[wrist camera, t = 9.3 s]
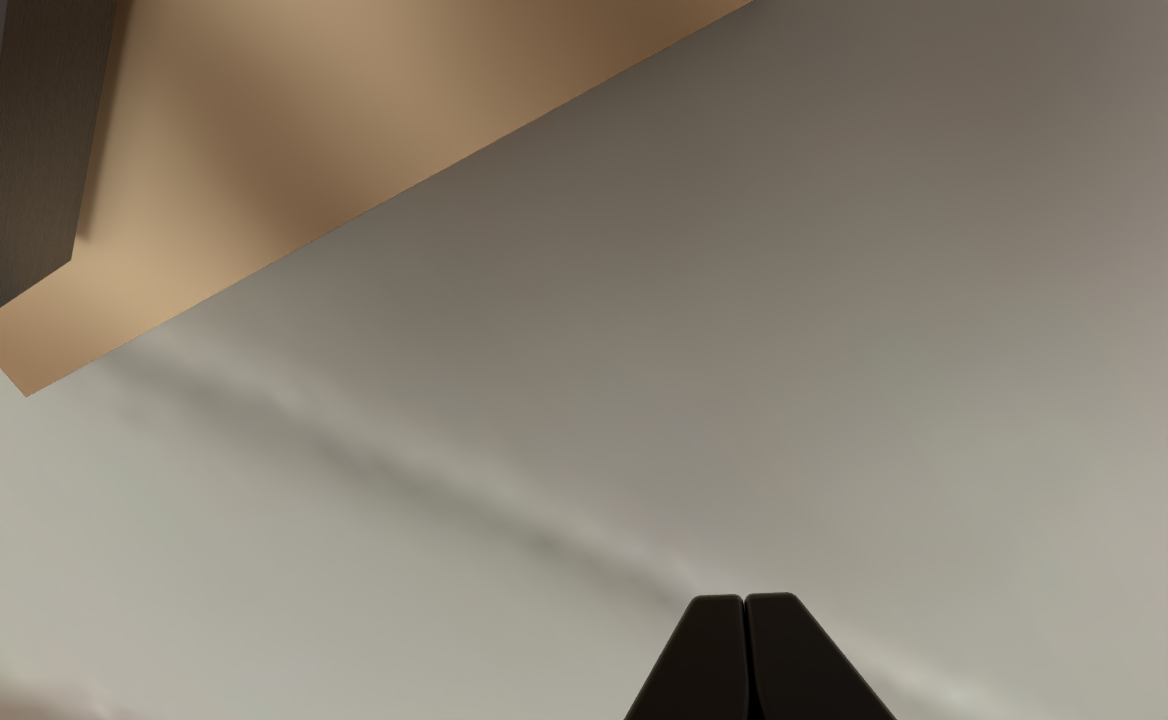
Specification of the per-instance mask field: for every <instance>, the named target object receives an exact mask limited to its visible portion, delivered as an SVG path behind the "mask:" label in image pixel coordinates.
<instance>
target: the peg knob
mask: <svg viewBox="0 0 1168 720" xmlns="http://www.w3.org/2000/svg"><path fill="white" fill-rule="evenodd" d="M117 3H118V0H0V308H1V307H2V306H4V305H5V304H7V303H8V302H10V301H11V300H13V299H14V298H16V297H17V296H19V295H20V294H22V293H23V292H25V291H26V290H28V289H29V288H31V287H32V286H34V285H35V284H37V283H38V282H40V281H41V280H43V279H44V278H46V277H47V276H48V275H50V274H51V273H53V272H54V271H56V270H57V269H59V268H60V267H62V266H63V265H65V264H66V263H68V262H69V261H71V258H72V253H73V247H74V241H75V236H76V230H77V225H78V219H79V214H80V208H81V203H82V197H83V192H84V186H85V180H86V175H87V169H88V164H89V158H90V153H91V147H92V142H93V136H94V131H95V125H96V120H97V114H98V108H99V103H100V97H101V92H102V86H103V81H104V75H105V70H106V64H107V59H108V53H109V48H110V42H111V36H112V31H113V25H114V20H115V14H116V9H117Z"/></svg>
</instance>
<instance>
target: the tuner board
mask: <svg viewBox="0 0 1168 720" xmlns="http://www.w3.org/2000/svg"><path fill="white" fill-rule="evenodd" d="M751 1H753V0H118V3H117V9H116V14H115V20H114V25H113V31H112V36H111V42H110V48H109V53H108V59H107V64H106V70H105V75H104V81H103V86H102V92H101V97H100V103H99V108H98V114H97V120H96V125H95V131H94V136H93V142H92V147H91V153H90V158H89V164H88V169H87V175H86V180H85V186H84V192H83V197H82V203H81V208H80V214H79V219H78V225H77V230H76V236H75V241H74V247H73V253H72V258H71V261H69V262H68V263H66V264H65V265H63V266H62V267H60V268H59V269H57V270H56V271H54V272H53V273H51V274H50V275H48V276H47V277H46V278H44V279H43V280H41V281H40V282H38V283H37V284H35V285H34V286H32V287H31V288H29V289H28V290H26V291H25V292H23V293H22V294H20V295H19V296H17V297H16V298H14V299H13V300H11V301H10V302H8V303H7V304H5V305H4V306H2V307H1V308H0V368H1V369H2V370H3V372H4V373H5V374H6V375H7V376H8V377H9V378H10V380H11V381H12V382H13V383H14V384H15V385H16V387H17V388H18V389H19V390H20V391H21V392H22V393H23V395H24V396H25V397H28V396H29V395H31V394H33V393H35V392H37V391H39V390H40V389H42V388H44V387H46V386H48V385H50V384H51V383H53V382H55V381H57V380H59V379H61V378H62V377H64V376H66V375H68V374H70V373H72V372H73V371H75V370H77V369H79V368H81V367H83V366H84V365H86V364H88V363H90V362H92V361H94V360H95V359H97V358H99V357H101V356H103V355H105V354H106V353H108V352H110V351H112V350H114V349H116V348H117V347H119V346H121V345H123V344H125V343H127V342H128V341H130V340H132V339H134V338H136V337H138V336H139V335H141V334H143V333H145V332H147V331H149V330H150V329H152V328H154V327H156V326H158V325H160V324H161V323H163V322H165V321H167V320H169V319H171V318H172V317H174V316H176V315H178V314H180V313H182V312H183V311H185V310H187V309H189V308H191V307H193V306H194V305H196V304H198V303H200V302H202V301H203V300H205V299H207V298H209V297H211V296H213V295H214V294H216V293H218V292H220V291H222V290H224V289H225V288H227V287H229V286H231V285H233V284H235V283H236V282H238V281H240V280H242V279H244V278H246V277H247V276H249V275H251V274H253V273H255V272H257V271H258V270H260V269H262V268H264V267H266V266H268V265H269V264H271V263H273V262H275V261H277V260H279V259H280V258H282V257H284V256H286V255H288V254H290V253H291V252H293V251H295V250H297V249H299V248H301V247H302V246H304V245H306V244H308V243H310V242H312V241H313V240H315V239H317V238H319V237H321V236H323V235H324V234H326V233H328V232H330V231H332V230H334V229H335V228H337V227H339V226H341V225H343V224H345V223H346V222H348V221H350V220H352V219H354V218H356V217H357V216H359V215H361V214H363V213H365V212H367V211H368V210H370V209H372V208H374V207H376V206H378V205H379V204H381V203H383V202H385V201H387V200H389V199H390V198H392V197H394V196H396V195H398V194H399V193H401V192H403V191H405V190H407V189H409V188H410V187H412V186H414V185H416V184H418V183H420V182H421V181H423V180H425V179H427V178H429V177H431V176H432V175H434V174H436V173H438V172H440V171H442V170H443V169H445V168H447V167H449V166H451V165H453V164H454V163H456V162H458V161H460V160H462V159H464V158H465V157H467V156H469V155H471V154H473V153H475V152H476V151H478V150H480V149H482V148H484V147H486V146H487V145H489V144H491V143H493V142H495V141H497V140H498V139H500V138H502V137H504V136H506V135H508V134H509V133H511V132H513V131H515V130H517V129H519V128H520V127H522V126H524V125H526V124H528V123H530V122H531V121H533V120H535V119H537V118H539V117H541V116H542V115H544V114H546V113H548V112H550V111H552V110H553V109H555V108H557V107H559V106H561V105H563V104H564V103H566V102H568V101H570V100H572V99H574V98H575V97H577V96H579V95H581V94H583V93H585V92H586V91H588V90H590V89H592V88H594V87H595V86H597V85H599V84H601V83H603V82H605V81H606V80H608V79H610V78H612V77H614V76H616V75H617V74H619V73H621V72H623V71H625V70H627V69H628V68H630V67H632V66H634V65H636V64H638V63H639V62H641V61H643V60H645V59H647V58H649V57H650V56H652V55H654V54H656V53H658V52H660V51H661V50H663V49H665V48H667V47H669V46H671V45H672V44H674V43H676V42H678V41H680V40H682V39H683V38H685V37H687V36H689V35H691V34H693V33H694V32H696V31H698V30H700V29H702V28H704V27H705V26H707V25H709V24H711V23H713V22H715V21H716V20H718V19H720V18H722V17H724V16H726V15H727V14H729V13H731V12H733V11H735V10H737V9H738V8H740V7H742V6H744V5H746V4H748V3H749V2H751Z"/></svg>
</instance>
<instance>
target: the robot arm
mask: <svg viewBox="0 0 1168 720" xmlns="http://www.w3.org/2000/svg"><path fill="white" fill-rule="evenodd" d="M624 720H897V719H896V718H895V717H894V716H893V714H892V713H891V712H890V711H889V709H888V708H887V707H886V706H885V704H884V703H883V702H882V701H881V699H880V698H879V697H878V696H877V695H876V693H875V692H874V691H873V690H872V688H871V687H870V686H869V685H868V683H867V682H866V681H865V680H864V679H863V677H862V676H861V675H860V674H859V672H858V671H857V670H856V669H855V667H854V666H853V665H852V664H851V663H850V661H849V660H848V659H847V658H846V656H845V655H844V654H843V653H842V651H841V650H840V649H839V648H838V647H837V645H836V644H835V643H834V642H833V640H832V639H831V638H830V637H829V635H828V634H827V633H826V632H825V631H824V629H823V628H822V627H821V626H820V624H819V623H818V622H817V621H816V619H815V618H814V617H813V616H812V614H811V613H810V612H809V611H808V610H807V608H806V607H805V606H804V605H803V603H802V602H801V601H800V600H799V599H798V598H797V596H795V595H794V594H792V593H788V592H780V593H754V594H749V595H748V596H747V597H746V598H745V601H744V603H743V600H742V598H741V597H740V596H738V595H735V594H726V595H700V596H696V597H695V598H693V599H692V601H691V602H690V603H689V605H688V607H687V609H686V610H685V612H684V614H683V616H682V617H681V619H680V621H679V623H678V625H677V626H676V628H675V630H674V632H673V633H672V635H671V637H670V639H669V640H668V642H667V644H666V646H665V648H664V649H663V651H662V653H661V655H660V656H659V658H658V660H657V662H656V663H655V665H654V667H653V669H652V671H651V672H650V674H649V676H648V678H647V679H646V681H645V683H644V685H643V686H642V688H641V690H640V692H639V694H638V695H637V697H636V699H635V701H634V702H633V704H632V706H631V708H630V710H629V711H628V713H627V715H626V717H625V718H624Z"/></svg>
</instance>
